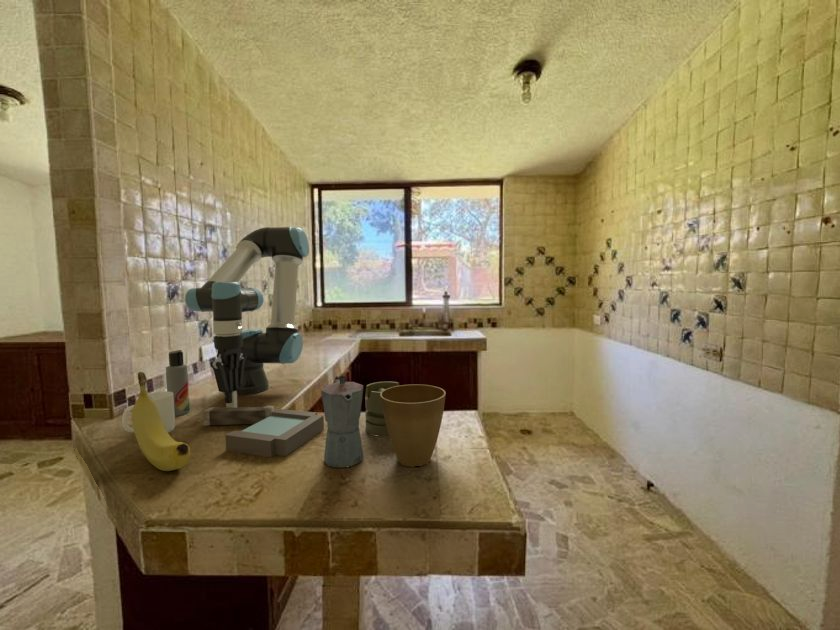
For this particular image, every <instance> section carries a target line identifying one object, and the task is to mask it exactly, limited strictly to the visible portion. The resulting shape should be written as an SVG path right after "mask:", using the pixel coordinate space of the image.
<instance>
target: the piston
mask: <svg viewBox="0 0 840 630" xmlns="http://www.w3.org/2000/svg"><path fill="white" fill-rule="evenodd" d="M395 386H400V382H397V381H377V382H373V383H372V382H371V383H369V384H367V385H366V386H365V396H364V397H365V404H364V405H365V432H366V431H367V432H368V433H367V432H366V433H367V434H369V433H370V434H369V435H371V434H373V435H372V436H374V435H378V436H377V437H382V436H386V437H389V433H388V430H387V426H386V423H385V418H384V413H383V408H382V402H381V396H380V394H381V392H382V391H384V390H385V389H388V388H391V387H395Z"/></svg>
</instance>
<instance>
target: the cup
mask: <svg viewBox="0 0 840 630" xmlns="http://www.w3.org/2000/svg"><path fill="white" fill-rule="evenodd" d="M147 394H148V396H149V397H150V399H151V400H152V401H153V402H154V403H155V405H156V407H157V409H158V411H159V414H160V417H161V419H162V422H163V424H164V426H165V428H166V430H167V432H168V434H169V433H172V431H174V429H175V428H176V419H175V418H176V416H175V414H174V397H173V392H167V391H154V392H149V393H148V392H147ZM138 397H139V396H137V397H136V401H137V399H138ZM134 405H135V404H133V405H130V406H128V407H126V408H125V409H124V411H123V413H122V417H121V424H122V428H123V429H124V430H125V431H126V432H128V433H134V429H133V427H130V426H129V423H128V416H129V413H130V412H132V410H133V407H134Z"/></svg>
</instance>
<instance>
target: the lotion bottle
mask: <svg viewBox="0 0 840 630" xmlns="http://www.w3.org/2000/svg"><path fill="white" fill-rule="evenodd" d="M168 364H169V365H168V366H166V367H165V376H166V379H165V380H166V392H173V397H174V414H175V417H176V416H182V415H185V414H188V413H189V412H190V393H189V391H190V389H189V370H188V365H187V364H185V362H184V352H183V351H182V350H181V349H177V350H173V351H170V352H168Z"/></svg>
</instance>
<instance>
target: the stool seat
mask: <svg viewBox="0 0 840 630" xmlns="http://www.w3.org/2000/svg"><path fill="white" fill-rule="evenodd" d="M324 419H325V414H324V415H322V414H321V415H320V414H318V412H313V411H305V410H296V409H295V410H294V409H284V408H277V409H274V411H273V412H272V415H271V416H269V417H267V418H266V419H264V420H262V421H260V422H258V423H256V424H251V425H250V426H248V427H246V428H244V429H243V430H233V431H231V432H229V433H227V434H225V436H224V437H225V451H226V452H232V453H237V454H238V453H239V454H245V455H250V456H252V455H253V456H258V457H263V458H264V457H265V458H273V457H274V456H281V457H287V456H289V455H290V454H292V453H293V452H295V450H297V449H299V448H300V447H301V446H303V445H304V444H305V443H307V442H308V441H310V440H311V439H312V438H314V437H315V436H317V435H318V434H320V433H321V432H322V431H324V430H325V423H324V421H325V420H324Z"/></svg>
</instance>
